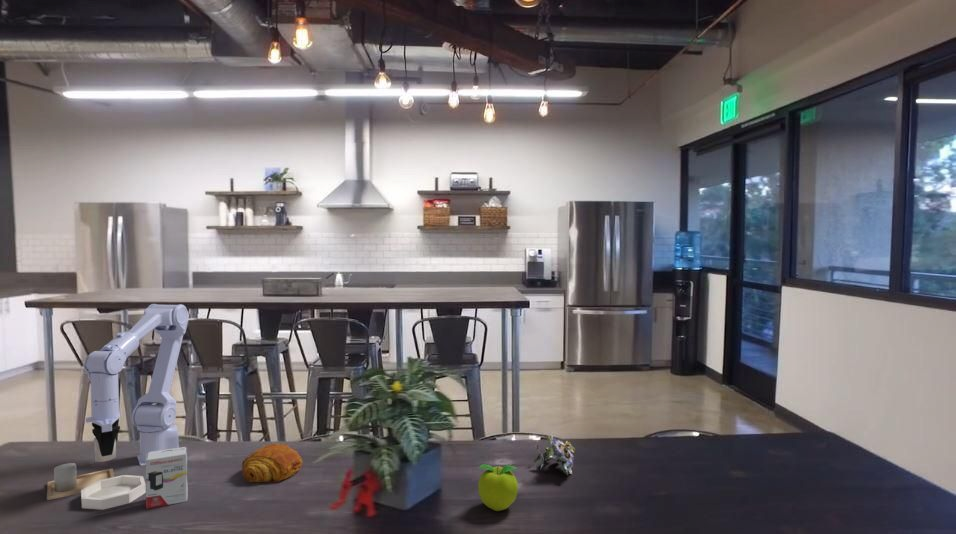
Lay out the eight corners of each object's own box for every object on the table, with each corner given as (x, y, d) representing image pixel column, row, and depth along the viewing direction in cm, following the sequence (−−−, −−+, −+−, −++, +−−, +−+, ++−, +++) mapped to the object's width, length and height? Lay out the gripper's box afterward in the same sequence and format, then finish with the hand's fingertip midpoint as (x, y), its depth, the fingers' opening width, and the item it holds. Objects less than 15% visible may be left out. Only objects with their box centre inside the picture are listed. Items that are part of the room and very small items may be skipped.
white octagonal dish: (141, 481, 139) (141, 471, 139) (147, 499, 129) (147, 489, 129) (80, 494, 131) (80, 484, 131) (82, 516, 121) (82, 504, 121)
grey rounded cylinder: (116, 453, 138) (115, 432, 138) (116, 459, 135) (115, 438, 134) (95, 457, 136) (94, 436, 136) (94, 463, 132) (93, 441, 132)
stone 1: (76, 482, 137) (75, 461, 137) (77, 488, 134) (76, 467, 133) (54, 487, 134) (53, 466, 134) (54, 493, 131) (53, 472, 131)
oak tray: (112, 471, 144) (112, 468, 144) (115, 486, 136) (115, 482, 136) (47, 485, 136) (47, 481, 136) (46, 502, 128) (46, 497, 128)
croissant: (232, 487, 141) (227, 459, 140) (275, 457, 155) (271, 431, 154) (275, 496, 135) (270, 466, 134) (315, 464, 150) (312, 437, 148)
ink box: (145, 509, 125) (144, 459, 124) (147, 500, 129) (145, 452, 128) (187, 501, 128) (186, 453, 128) (187, 493, 133) (186, 446, 132)
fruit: (478, 498, 131) (478, 457, 130) (516, 498, 131) (517, 458, 130) (476, 517, 122) (477, 474, 121) (518, 518, 122) (518, 475, 121)
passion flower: (568, 493, 145) (577, 469, 138) (528, 483, 146) (535, 459, 139) (571, 457, 154) (579, 432, 146) (533, 448, 155) (540, 423, 148)
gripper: (85, 394, 138) (86, 446, 139) (85, 408, 126) (87, 465, 127) (118, 390, 142) (119, 440, 143) (121, 403, 131) (122, 458, 131)
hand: (106, 452), depth 135 cm, fingers closed on grey rounded cylinder, 4 cm apart
